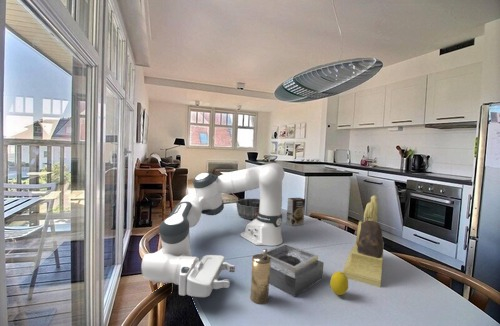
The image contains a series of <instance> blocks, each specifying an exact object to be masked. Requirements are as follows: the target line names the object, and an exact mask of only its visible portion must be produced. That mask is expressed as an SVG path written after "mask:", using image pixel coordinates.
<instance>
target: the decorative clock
mask: <svg viewBox="0 0 500 326" xmlns="http://www.w3.org/2000/svg"><path fill="white" fill-rule="evenodd" d="M378 199H379V198H378V196H376V195H372V196H370V202H368V203H366V206H365V208H364V212H363V220H362V221H361V220H358V225H357V230H356V241H355V244H354V245H353V247H352V248H351V249H350V251H349V255H348V257H347V260H346V262H345V265H344V267H343V270H342V271H341V272H342V273H343V274H345V275H346V277H347V279H348V280H352V281H355V282H359V283H364V284H366V283H367V284H366V285H370V286H374V287H377V288H381V281H382V270H383V259H384V258H383V257H384V245H385V242H384V237H383V231H382V228H381V225H380V224H379V223H378V216H379V215H378V214H379V211H380V210H379V209H380V205H379V204H378Z"/></svg>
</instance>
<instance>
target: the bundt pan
mask: <svg viewBox="0 0 500 326" xmlns="http://www.w3.org/2000/svg"><path fill="white" fill-rule="evenodd" d="M235 203H236V210H237V211H236V212H237V214H238V215H239V217H240V218H242V219H243V218H244V219H245V220H246V219H248V220H249V221H253V220H254V219H256V217H257V215H255V214H256V213H257V212H259V206H260V198H241V199H238V200H236V201H235Z"/></svg>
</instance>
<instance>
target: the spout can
mask: <svg viewBox="0 0 500 326" xmlns="http://www.w3.org/2000/svg"><path fill="white" fill-rule="evenodd" d="M267 250H268V249H267V248H263V251H262V252H263V254H261V253H259V254H254V255H253V256H252V258H251V259H252V260H251V261H252V262H251V278H250V279H251V280H250V283H251V284H250V296H249V298H250V299H249V300H251V302H252V303H255V304H259V305H261V304H262V305H263V304H265V303H267V302H268V301H269V293H270V291H269V290H270V284H269V278H270V260H271V258H270V257H269V256H267Z"/></svg>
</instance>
